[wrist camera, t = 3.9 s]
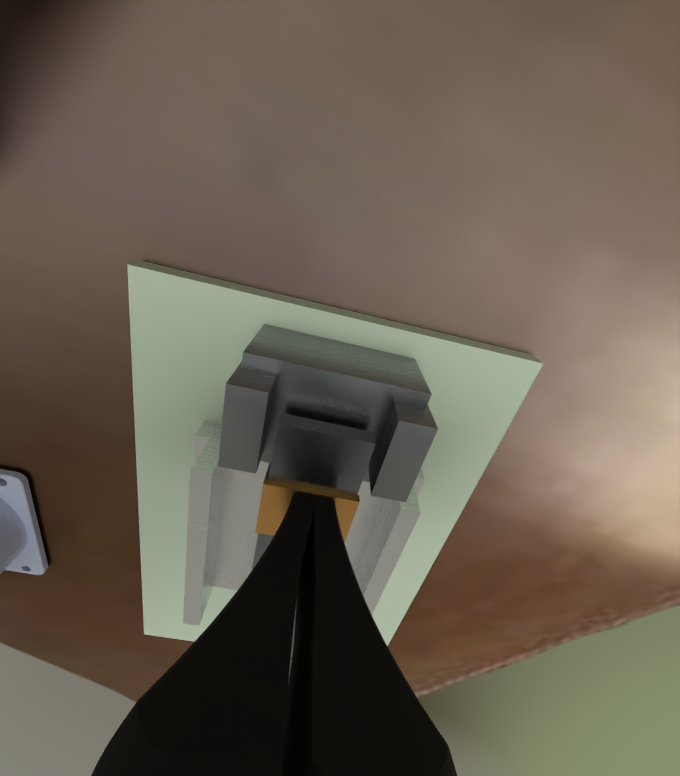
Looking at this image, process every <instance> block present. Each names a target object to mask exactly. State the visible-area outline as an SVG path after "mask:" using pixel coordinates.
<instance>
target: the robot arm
mask: <svg viewBox="0 0 680 776" xmlns="http://www.w3.org/2000/svg"><path fill="white" fill-rule="evenodd" d="M47 569H48V563H47V559H46V555H45V550H44V546H43V542H42V538H41V534H40V529H39V525H38V521H37V517H36V512H35V508H34V504H33V500H32V495H31V491H30V487H29V483H28V479H27V477H26V476H25V475H23V474H21V473H19V472H15V471H9V470H4V469H0V574H1V573H2V572H3V571H4V570H8V571H15V572H21V573H28V574H34V575H41V574H43V573H44V572H45V571H46V570H47ZM296 600H297V602H296ZM295 609H296V617H295ZM294 619H295V632H294V645H293V654H292V662H291V669H290V660H291V649H292V639H293V629H294ZM289 671H290V676H289ZM288 681H289V683H288ZM91 776H457V774H456V770H455V766H454V763H453V760H452V756H451V753H450V750H449V747H448V745H447V743H446V742H445V740H444V738H443V737H442V735H441V734H440V733H439V732H438V730H437V728H436V727H435V725H434V724H433V722H432V721H431V719H430V717H429V716H428V714H427V713H426V711H425V710H424V708H423V707H422V705H421V704H420V702H419V700H418V699H417V697H416V695H415V694H414V692H413V690H412V689H411V687H410V686H409V684H408V682H407V681H406V679H405V677H404V676H403V674H402V672H401V670H400V668H399V667H398V665H397V663H396V661H395V659H394V657H393V656H392V654H391V652H390V650H389V648H388V647H387V645H386V643H385V641H384V639H383V637H382V635H381V633H380V631H379V629H378V627H377V625H376V623H375V621H374V619H373V617H372V615H371V612H370V610H369V608H368V606H367V604H366V601H365V599H364V596H363V594H362V592H361V589H360V587H359V584H358V581H357V579H356V576H355V574H354V571H353V568H352V565H351V562H350V559H349V556H348V553H347V550H346V547H345V543H344V540H343V537H342V533H341V529H340V525H339V521H338V516H337V511H336V506H335V501H334V500H333V498H328V497H322V496H317V495H311V494H306V493H301V492H295V493H293V495H292V499H291V502H290V505H289V507H288V510H287V512H286V514H285V516H284V518H283V520H282V522H281V524H280V526H279V528H278V530H277V531H276V533H275V535H274V537H273V539H272V540H271V542H270V544H269V545H268V547H267V549H266V550H265V552H264V553H263V555H262V556H261V558H260V559H259V561H258V562H257V564H256V566H255V567H254V568H253V570H252V571H251V573H250V574H249V576H248V577H247V578H246V580H245V581H244V582H243V584H242V585H241V586H240V588H239V589H238V591H237V592H236V593H235V594H234V596H233V597H232V598H231V599H230V601H229V602H228V603H227V604H226V606H225V607H224V608H223V609H222V611H221V612H220V613H219V614H218V616H217V617H216V618H215V619H214V620H213V622H212V623H211V624H210V625H209V626H208V627H207V629H206V630H205V631H204V632H203V633H202V634H201V635H200V636H199V637H198V638H197V640H196V641H195V642H194V643H193V644H192V645H191V646H190V647H189V648H188V650H187V651H186V652H185V653H184V654H183V655H182V656H181V657H180V658H179V659H178V660H177V661H176V663H175V664H174V665H173V666H172V667H171V668H170V669H169V670H168V671H167V672H166V673H165V674H164V675H163V676H162V677H161V678H160V679H159V680H158V681H157V682H156V683H155V684H154V685H153V686H152V687H151V688H150V689H149V690H148V691H147V692H146V693H145V694H144V695H143V696H142V697H141V698H140V699H139V700H138V701H137V703H136V704H135V705H134V707H133V708H132V710H131V711H130V712H129V714H128V715H127V717H126V718H125V720H124V721H123V723H122V724H121V725H120V727H119V728H118V730H117V731H116V733H115V734H114V736H113V737H112V739H111V740H110V742H109V744H108V745H107V747H106V748H105V750H104V752H103V754H102V756H101V757H100V759H99V761H98V763H97V765H96V767H95V769H94V771H93V773H92V775H91Z"/></svg>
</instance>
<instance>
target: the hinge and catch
mask: <svg viewBox="0 0 680 776" xmlns="http://www.w3.org/2000/svg"><path fill="white" fill-rule="evenodd" d="M431 395H432V394H431V392H430V389H429V387H428V385H427V383H426V381H425V379H424V377H423V375H422V373H421V370H420V368H419V366H418V364H417V362H416V360H415V358H410V357H406V356H402V355H397V354H393V353H389V352H384V351H380V350H376V349H371V348H367V347H363V346H358V345H354V344H350V343H345V342H341V341H337V340H332V339H328V338H324V337H319V336H315V335H311V334H306V333H302V332H298V331H293V330H289V329H285V328H280V327H276V326H272V325H268V324H264V325H263V326H262V327H261V329H260V330H259V331H258V333H257V334H256V335H255V337H254V338H253V339H252V341H251V342H250V343H249V345H248V346H247V347H246V349H245V350H244V351H243V356H242V361H241V363H240V364H239V366H238V367H237V368H236V370H235V371H234V373H233V374H232V375H231V377H230V378H229V380H228V381H227V383H226V386H225V397H224V407H223V418H222V429H221V439H220V450H219V461H218V467H224V468H229V469H234V470H239V471H244V472H250V473H255V474H256V472H257V469H258V466H259V463H260V461H262V462H268V463H271V460H272V455H273V449H274V443H275V438H276V432H277V427H278V422H279V419H280V416H281V413H285V414H289V415H294V416H299V417H304V418H309V419H313V420H318V421H323V422H328V423H333V424H337V425H342V426H347V427H352V428H357V429H361V430H366V431H371V432H374V433H375V442H376V445H375V447H374V450H373V453H372V456H371V458H370V461H369V464H368V467H367V469H366V472H365V475H364V478H363V480H362V481H365V482H370V491H371V496H376V497H381V498H386V499H391V500H396V501H402V502H406V501H407V498H408V496H409V494H410V492H411V489H412V487H413V485H414V483H415V480H416V478H417V476H418V473H419V471H420V469H421V467H422V464H423V462H424V460H425V458H426V455H427V453H428V451H429V449H430V446H431V444H432V442H433V440H434V437H435V435H436V433H437V430H438V427H437V425H436V423H435V420H434V418H433V416H432V413H431V411H430V409H429V406H428V402H429V400H430V397H431Z"/></svg>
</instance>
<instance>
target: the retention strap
mask: <svg viewBox="0 0 680 776" xmlns="http://www.w3.org/2000/svg"><path fill="white" fill-rule="evenodd" d="M375 445H376V442H375V433H374V432H371V431H366V430H361V429H357V428H352V427H347V426H342V425H337V424H333V423H328V422H323V421H318V420H313V419H309V418H304V417H299V416H294V415H289V414H285V413H281V416H280V419H279V422H278V427H277V432H276V438H275V443H274V449H273V455H272V460H271V466H270V471H269V477H268V478H266V477H265V481H264V484H263V490H262V496H261V502H260V507H259V513H258V519H257V525H256V530H255V532H256V533H258V538H257V544H256V549H255V555H254V560H253V566H252V570H253V568H254V567H255V566H256V564H257V562H258V561H259V559H260V558H261V556H262V555H263V553H264V552H265V550H266V549H267V547H268V545H269V544H270V542H271V540H272V539H273V537H274V535H275V533H276V531H277V530H278V528H279V526H280V524H281V522H282V520H283V518H284V516H285V514H286V512H287V510H288V507H289V505H290V502H291V499H292V495H293V493H295V492H301V493H306V494H311V495H317V496H322V497H328V498H333V500H334V501H335V506H336V511H337V516H338V521H339V525H340V529H341V533H342V537H343V540H344V543H345V540H346V537H347V535H348V532H349V529H350V527H351V524H352V521H353V519H354V516H355V513H356V510H357V508H358V505H359V502H360V499H359V495H357V494H358V492H359V489H360V486H361V483H362V480H363V478H364V475H365V472H366V469H367V467H368V464H369V461H370V458H371V456H372V453H373V450H374V447H375ZM296 602H297V600H296ZM295 617H296V609H295ZM294 632H295V619H294V629H293V639H292V649H291V660H290V669H291V662H292V654H293V645H294ZM289 676H290V671H289ZM288 683H289V681H288Z"/></svg>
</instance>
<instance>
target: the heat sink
mask: <svg viewBox="0 0 680 776" xmlns="http://www.w3.org/2000/svg"><path fill="white" fill-rule="evenodd" d="M221 429H222V425H220V424H215V423H210V422H205V421H204V422H203V424H202V425H201V426H200V428H199V429H198V431H197V432H196V434H195V445H194V464H193V465H192V467H191V469H190V481H189V503H188V525H187V546H186V568H185V589H184V611H183V623H184V624H191V625H198V626H199V625H200V622H201V620H202V617H203V614H204V611H205V608H206V606H207V603H208V600H209V597H210V594H211V592H212V589H213V587H220V588H226V589H232V590H238V589H239V588H240V586H241V585H242V584H243V582H244V581H245V580H246V578H247V577H248V576H249V574H250V573H251V571H252V566H253V560H254V555H255V549H256V544H257V538H258V533H256V532H255V530H256V525H257V519H258V513H259V507H260V502H261V496H262V490H263V484H264V481H265V477H266V478H268V477H269V471H270V466H271V463H268V462H262V461H260V463H259V466H258V469H257V472H256V474H255V473H250V472H244V471H239V470H234V469H229V468H224V467H218V461H219V450H220V439H221ZM424 481H425V478H424V475H423V472H422V468H421V469H420V471H419V473H418V476H417V478H416V480H415V483H414V485H413V487H412V489H411V492H410V494H409V496H408V498H407V501H406V502H402V501H396V500H391V499H386V498H381V497H376V496H371V491H370V482H365V481H362V483H361V486H360V489H359V492H358V494H357V495H359V499H360V502H359V505H358V508H357V510H356V513H355V516H354V519H353V521H352V524H351V527H350V529H349V532H348V535H347V537H346V540H345V547H346V550H347V553H348V556H349V559H350V562H351V565H352V568H353V571H354V574H355V576H356V579H357V581H358V584H359V587H360V589H361V592H362V594H363V596H364V599H365V601H366V604H367V606H368V608H369V610H370V612H371V615H372V614H373V612H374V610H375V608H376V606H377V604H378V601H379V599H380V597H381V595H382V593H383V591H384V589H385V587H386V585H387V583H388V581H389V578H390V576H391V574H392V572H393V570H394V568H395V566H396V564H397V562H398V560H399V558H400V555H401V553H402V551H403V549H404V547H405V545H406V543H407V541H408V539H409V537H410V534H411V532H412V530H413V528H414V526H415V524H416V522H417V520H418V518H419V516H420V514H421V512H420V508H419V504H418V500H417V496H418V494H419V492H420V490H421V487H422V485H423V483H424Z"/></svg>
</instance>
